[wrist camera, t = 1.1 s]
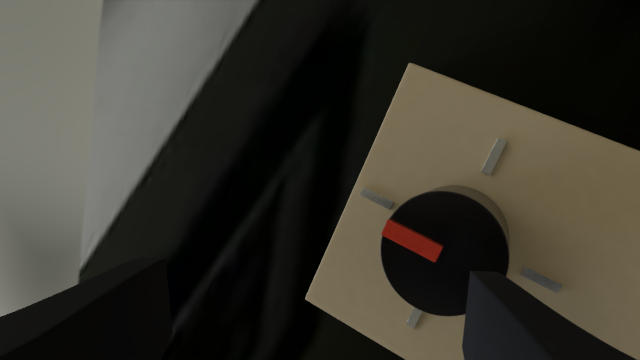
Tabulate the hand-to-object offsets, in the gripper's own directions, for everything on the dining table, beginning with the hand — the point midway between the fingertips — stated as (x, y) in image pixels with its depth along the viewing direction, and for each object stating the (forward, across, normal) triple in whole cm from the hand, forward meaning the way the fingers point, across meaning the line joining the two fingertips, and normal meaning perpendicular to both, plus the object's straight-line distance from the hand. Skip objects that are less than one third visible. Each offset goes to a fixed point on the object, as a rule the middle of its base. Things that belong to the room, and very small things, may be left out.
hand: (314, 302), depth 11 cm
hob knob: (+8, -5, +2) cm, 9 cm away
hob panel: (+10, -7, +3) cm, 13 cm away
